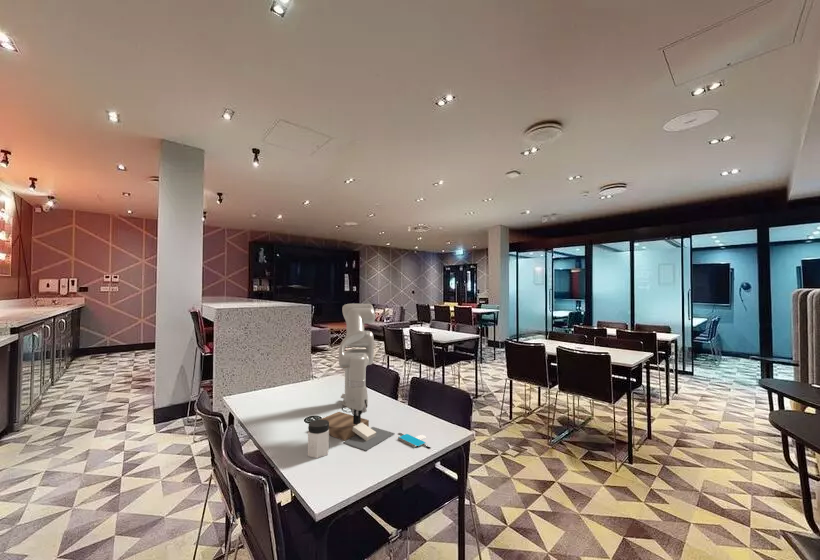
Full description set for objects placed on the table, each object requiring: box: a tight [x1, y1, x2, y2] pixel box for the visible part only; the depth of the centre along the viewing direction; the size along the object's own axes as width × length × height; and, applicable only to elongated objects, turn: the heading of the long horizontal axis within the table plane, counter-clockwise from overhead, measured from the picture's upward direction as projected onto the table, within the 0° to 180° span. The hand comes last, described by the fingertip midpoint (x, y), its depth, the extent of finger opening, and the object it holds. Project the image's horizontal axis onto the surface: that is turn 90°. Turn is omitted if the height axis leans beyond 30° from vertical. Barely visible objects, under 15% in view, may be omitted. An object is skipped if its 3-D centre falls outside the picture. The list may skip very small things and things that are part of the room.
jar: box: [307, 418, 330, 459], centre depth 135 cm, size 9×8×12 cm
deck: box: [318, 411, 370, 442], centre depth 158 cm, size 20×16×4 cm
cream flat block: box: [352, 423, 376, 441], centre depth 150 cm, size 9×6×2 cm, turn 56°
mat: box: [343, 426, 395, 452], centre depth 149 cm, size 13×20×1 cm, turn 147°
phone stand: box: [397, 432, 428, 449], centre depth 147 cm, size 20×12×2 cm, turn 43°
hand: (356, 423), depth 153 cm, fingers closed
